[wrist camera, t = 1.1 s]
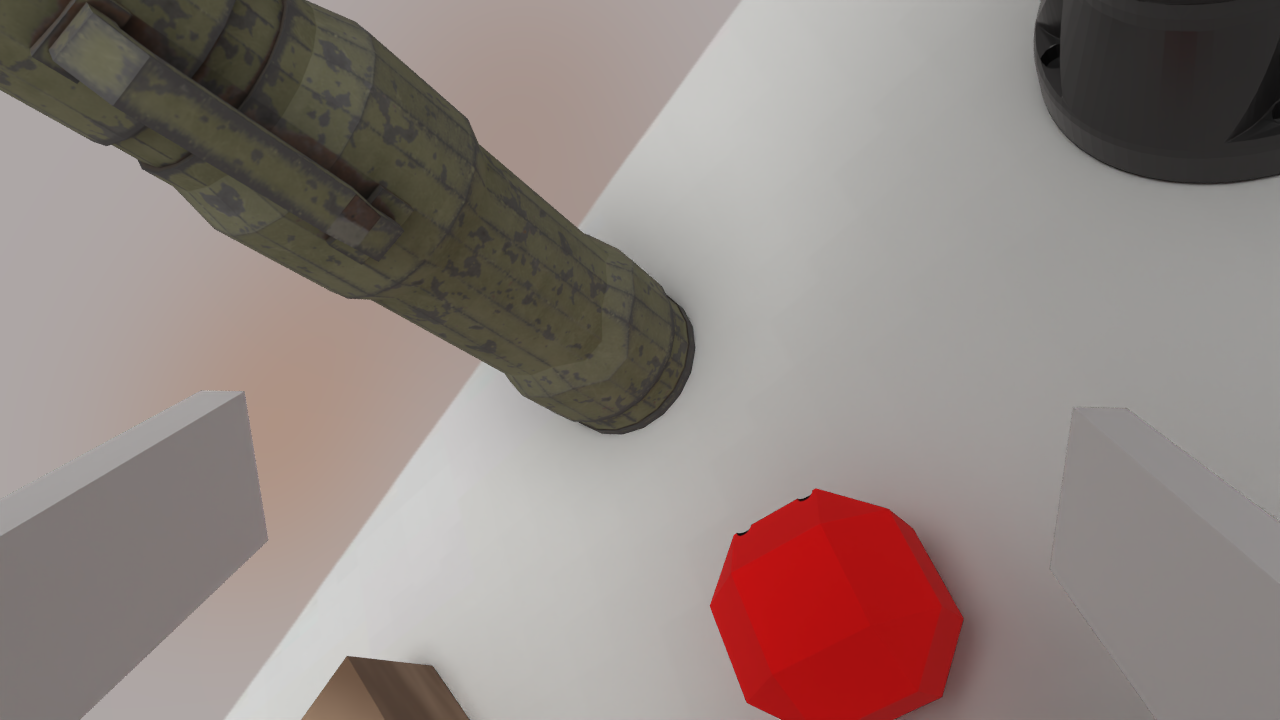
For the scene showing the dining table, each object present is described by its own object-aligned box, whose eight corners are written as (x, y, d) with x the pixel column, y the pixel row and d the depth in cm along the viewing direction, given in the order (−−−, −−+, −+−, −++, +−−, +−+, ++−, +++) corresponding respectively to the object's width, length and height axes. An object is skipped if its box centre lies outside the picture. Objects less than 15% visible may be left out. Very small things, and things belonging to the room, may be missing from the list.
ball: (901, 496, 36) (844, 446, 30) (1004, 676, 32) (960, 659, 26) (748, 580, 38) (666, 549, 33) (823, 760, 34) (744, 761, 28)
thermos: (619, 252, 50) (-51, -330, 23) (744, 356, 43) (-22, -323, 16) (526, 364, 51) (-231, -77, 24) (634, 485, 44) (-286, 43, 16)
